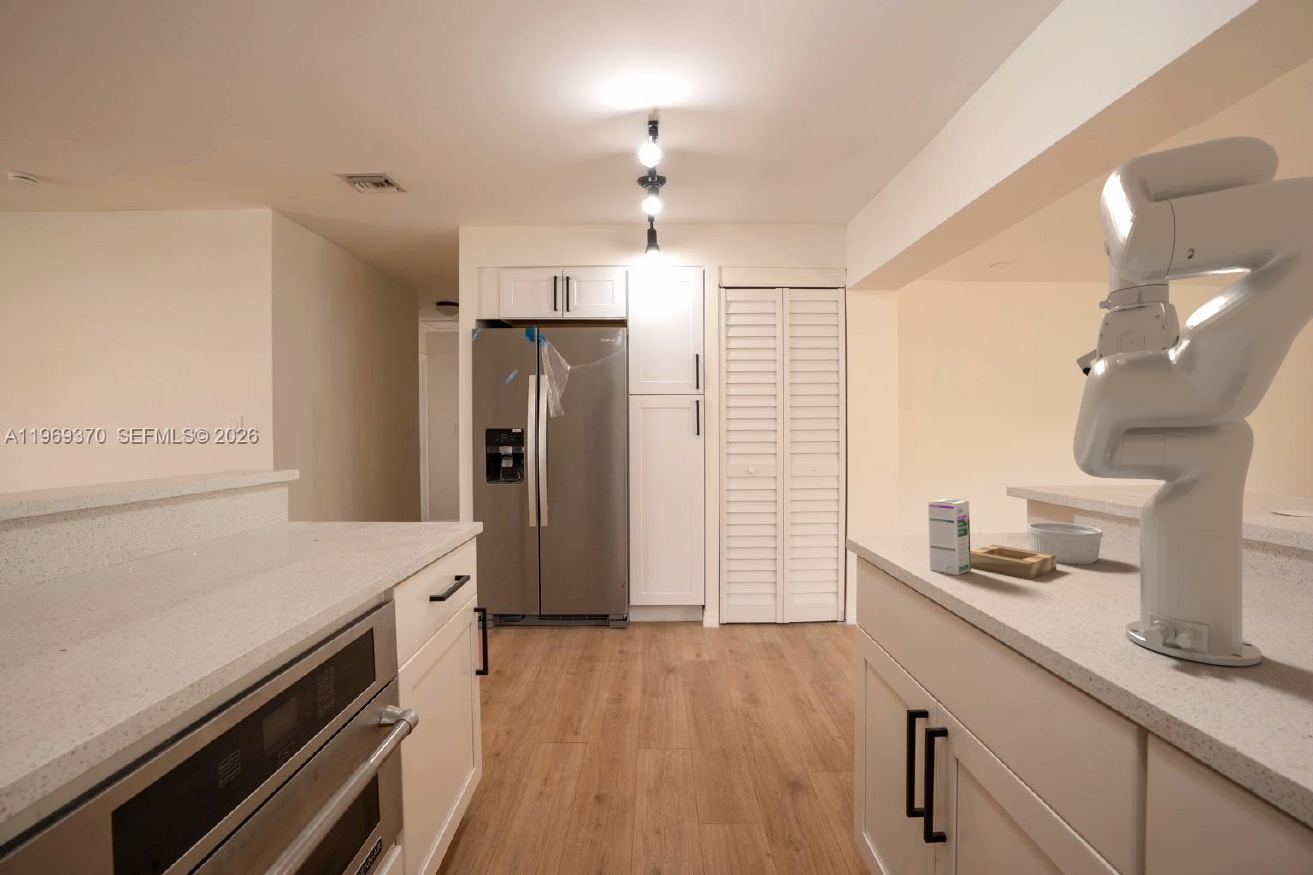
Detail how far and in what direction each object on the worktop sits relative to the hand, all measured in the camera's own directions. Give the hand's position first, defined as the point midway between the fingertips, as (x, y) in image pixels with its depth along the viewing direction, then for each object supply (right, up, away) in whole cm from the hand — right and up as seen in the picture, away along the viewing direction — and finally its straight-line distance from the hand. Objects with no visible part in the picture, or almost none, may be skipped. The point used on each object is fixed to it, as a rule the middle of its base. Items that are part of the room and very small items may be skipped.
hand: (1138, 402), depth 89 cm
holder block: (-8, -33, +20) cm, 40 cm away
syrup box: (-22, -34, +19) cm, 44 cm away
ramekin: (+8, -33, +27) cm, 44 cm away
